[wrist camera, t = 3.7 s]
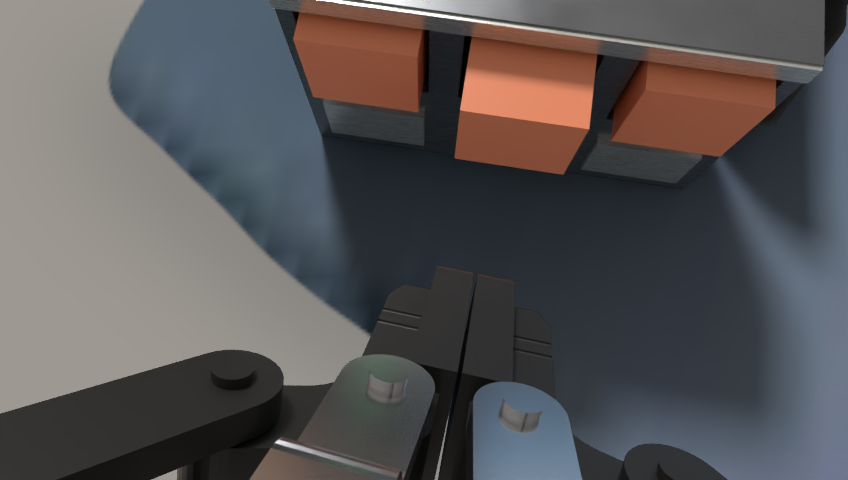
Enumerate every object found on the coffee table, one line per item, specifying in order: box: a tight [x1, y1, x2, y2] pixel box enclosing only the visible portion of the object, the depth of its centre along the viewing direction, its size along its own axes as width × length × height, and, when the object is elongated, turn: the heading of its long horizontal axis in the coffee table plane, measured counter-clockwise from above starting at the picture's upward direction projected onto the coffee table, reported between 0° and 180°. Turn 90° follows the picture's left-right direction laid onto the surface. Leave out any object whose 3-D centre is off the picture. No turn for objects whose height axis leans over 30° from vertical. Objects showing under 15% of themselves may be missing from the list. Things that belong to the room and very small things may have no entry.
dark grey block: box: [269, 0, 825, 189], centre depth 33 cm, size 21×6×14 cm, turn 81°
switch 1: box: [293, 12, 429, 112], centre depth 30 cm, size 5×5×5 cm
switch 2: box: [455, 36, 597, 175], centre depth 29 cm, size 5×5×5 cm
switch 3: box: [611, 60, 776, 157], centre depth 29 cm, size 5×5×5 cm
